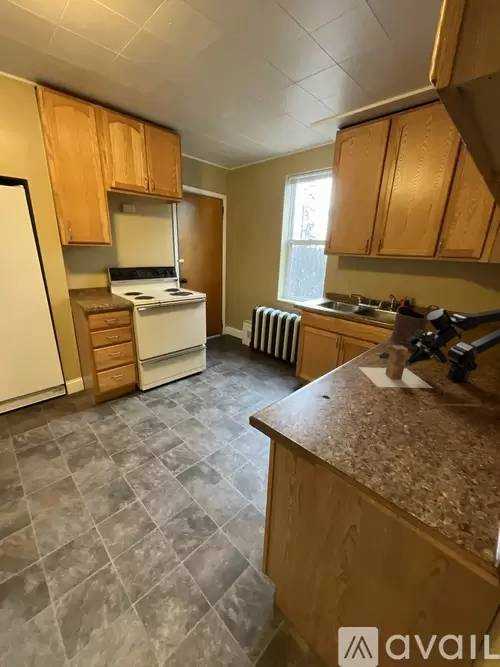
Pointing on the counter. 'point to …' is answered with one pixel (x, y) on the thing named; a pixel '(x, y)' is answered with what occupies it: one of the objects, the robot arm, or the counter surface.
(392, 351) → the walnut block
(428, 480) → the counter surface
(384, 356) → the phone
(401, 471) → the counter surface
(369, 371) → the cutting board
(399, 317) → the brown hollow rounded container
